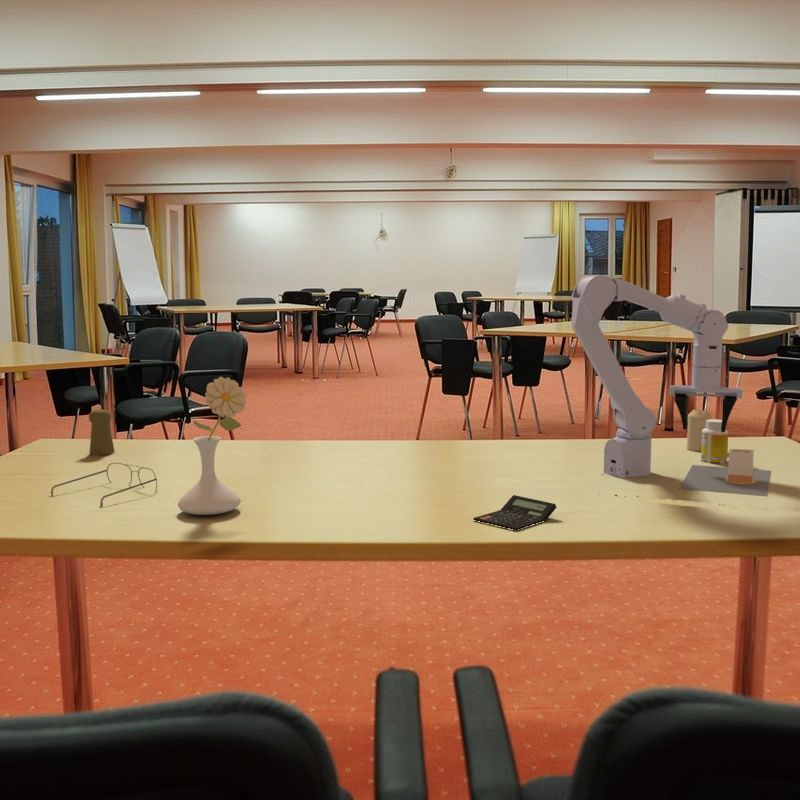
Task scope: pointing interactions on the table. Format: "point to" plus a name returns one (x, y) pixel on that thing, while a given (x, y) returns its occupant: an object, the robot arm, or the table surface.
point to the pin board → (725, 481)
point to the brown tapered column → (101, 433)
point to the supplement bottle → (714, 443)
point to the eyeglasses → (110, 481)
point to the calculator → (519, 513)
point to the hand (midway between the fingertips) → (704, 430)
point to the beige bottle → (696, 428)
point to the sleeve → (740, 465)
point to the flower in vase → (209, 490)
